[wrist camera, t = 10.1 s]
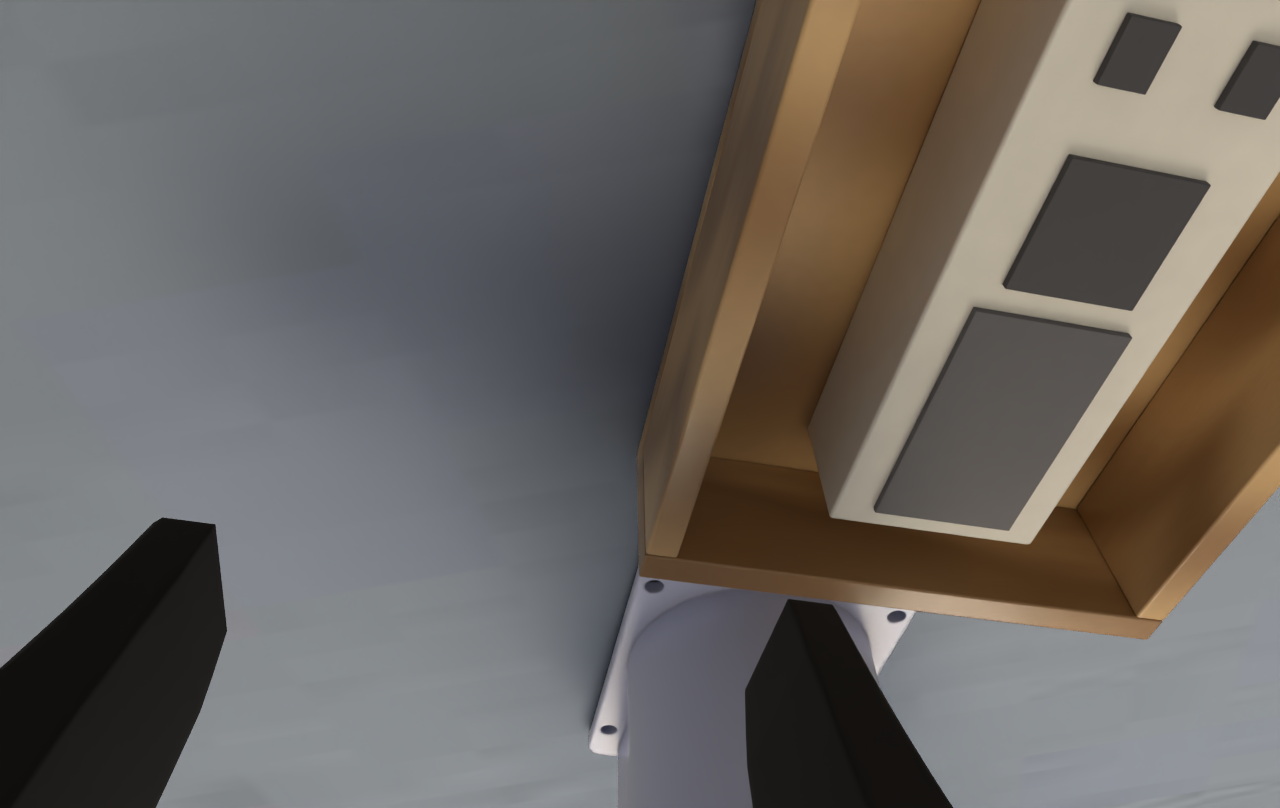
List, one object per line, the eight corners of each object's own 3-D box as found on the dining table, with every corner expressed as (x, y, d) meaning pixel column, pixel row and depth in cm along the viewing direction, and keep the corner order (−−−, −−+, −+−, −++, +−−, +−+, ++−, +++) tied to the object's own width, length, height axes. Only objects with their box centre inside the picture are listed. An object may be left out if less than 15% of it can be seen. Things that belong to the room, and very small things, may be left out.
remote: (987, 455, 22) (1033, 551, 20) (806, 428, 21) (829, 524, 19) (1385, -235, 14) (1555, -219, 11) (1106, -312, 13) (1219, -313, 11)
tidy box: (1079, 517, 24) (1147, 641, 21) (636, 453, 23) (638, 578, 19) (1668, -325, 13) (1988, -331, 10) (902, -558, 12) (1003, -649, 9)
